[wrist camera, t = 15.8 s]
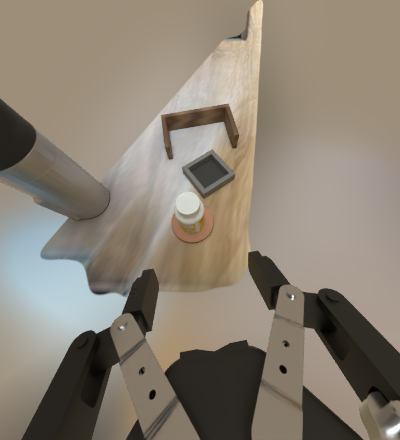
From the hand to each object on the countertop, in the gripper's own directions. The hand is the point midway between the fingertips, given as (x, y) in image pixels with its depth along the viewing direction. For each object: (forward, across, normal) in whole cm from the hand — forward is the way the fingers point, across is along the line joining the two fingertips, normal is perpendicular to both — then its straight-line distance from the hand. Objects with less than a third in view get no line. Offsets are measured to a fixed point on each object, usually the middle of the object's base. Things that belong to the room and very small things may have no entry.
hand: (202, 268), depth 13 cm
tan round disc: (+21, +1, +6) cm, 22 cm away
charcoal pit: (+29, -5, -2) cm, 30 cm away
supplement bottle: (+20, +1, +6) cm, 21 cm away
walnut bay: (+38, -5, -10) cm, 40 cm away
